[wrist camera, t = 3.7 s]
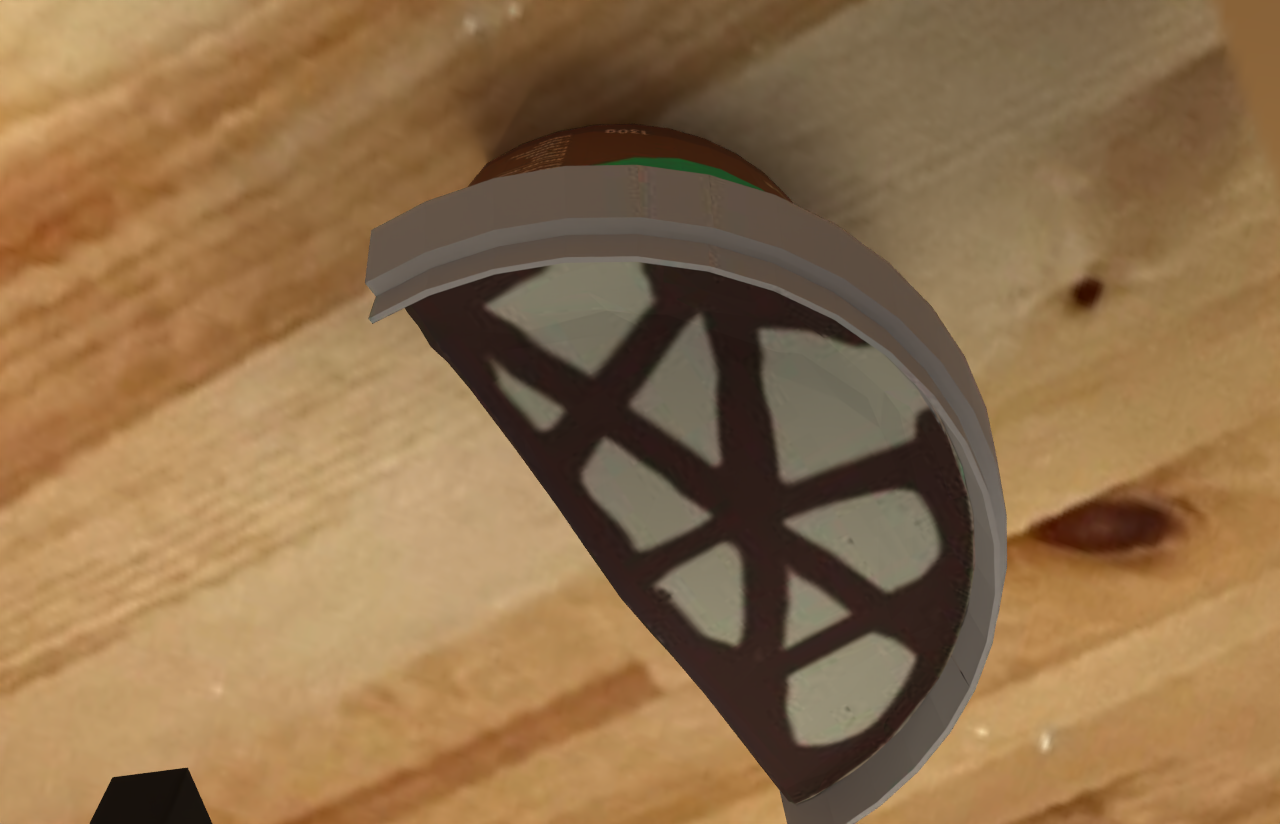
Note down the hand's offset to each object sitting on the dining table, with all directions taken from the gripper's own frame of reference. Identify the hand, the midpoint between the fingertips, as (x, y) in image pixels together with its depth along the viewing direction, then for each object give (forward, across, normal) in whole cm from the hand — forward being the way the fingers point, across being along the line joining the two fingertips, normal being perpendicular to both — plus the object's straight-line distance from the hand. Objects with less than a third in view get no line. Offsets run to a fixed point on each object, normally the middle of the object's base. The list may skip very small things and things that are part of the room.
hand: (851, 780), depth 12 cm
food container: (+15, 0, 0) cm, 15 cm away
